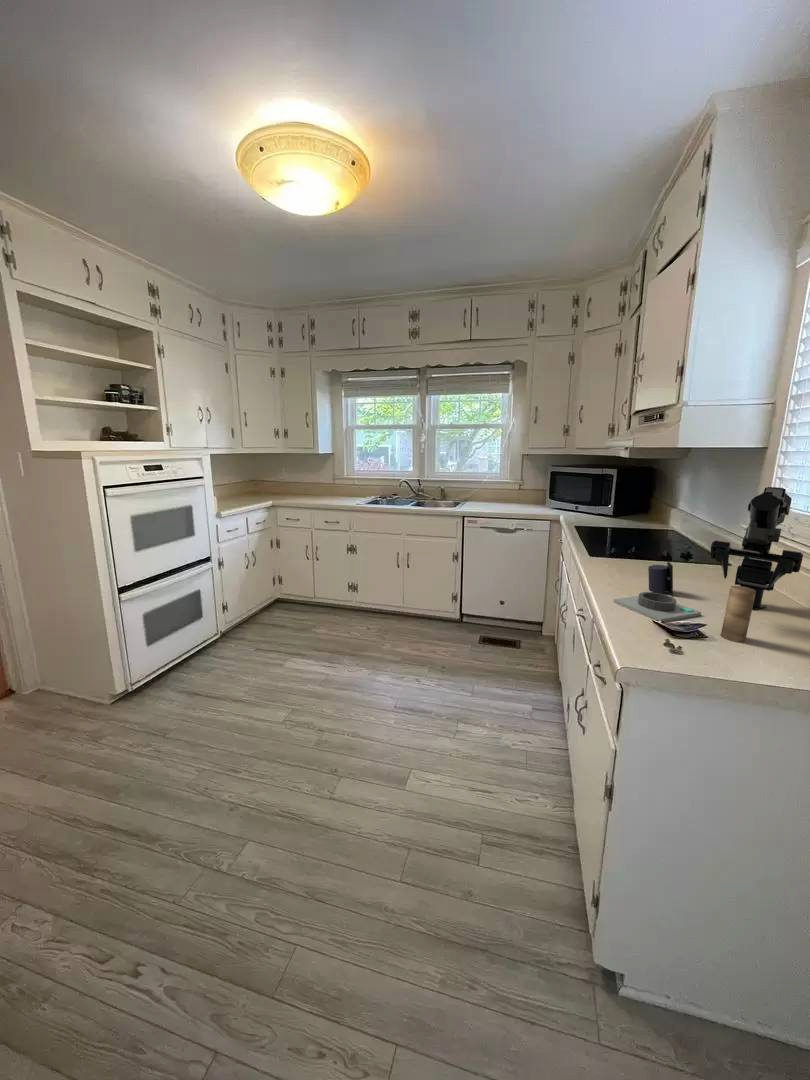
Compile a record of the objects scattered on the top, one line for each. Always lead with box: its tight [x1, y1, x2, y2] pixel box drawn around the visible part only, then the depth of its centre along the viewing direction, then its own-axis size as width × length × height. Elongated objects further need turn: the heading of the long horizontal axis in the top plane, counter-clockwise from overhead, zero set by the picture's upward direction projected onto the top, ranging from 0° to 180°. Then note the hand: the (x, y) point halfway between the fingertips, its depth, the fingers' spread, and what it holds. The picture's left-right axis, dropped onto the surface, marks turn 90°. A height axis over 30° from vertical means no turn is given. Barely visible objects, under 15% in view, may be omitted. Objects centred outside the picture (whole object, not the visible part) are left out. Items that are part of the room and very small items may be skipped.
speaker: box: [647, 560, 674, 597], centre depth 141 cm, size 8×6×10 cm
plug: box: [720, 585, 756, 643], centre depth 107 cm, size 5×5×13 cm
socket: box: [613, 591, 702, 622], centre depth 126 cm, size 16×16×4 cm
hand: (746, 581), depth 110 cm, fingers open, 9 cm apart
